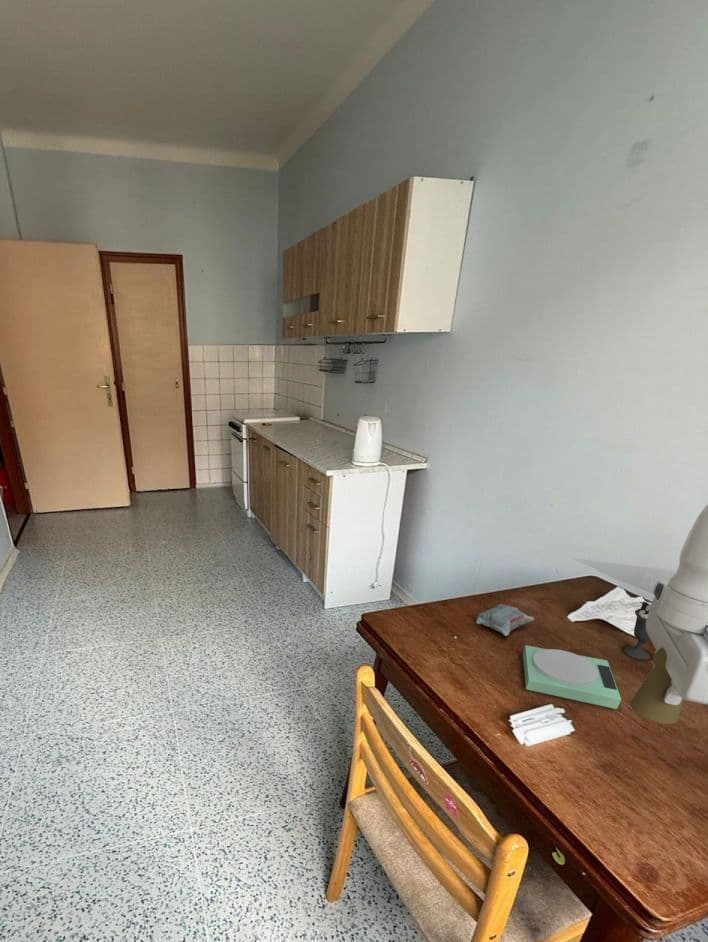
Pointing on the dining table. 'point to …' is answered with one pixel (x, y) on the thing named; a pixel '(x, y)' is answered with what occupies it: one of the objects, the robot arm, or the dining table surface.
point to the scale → (570, 676)
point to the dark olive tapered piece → (656, 694)
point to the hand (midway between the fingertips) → (663, 689)
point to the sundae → (640, 634)
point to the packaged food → (503, 618)
